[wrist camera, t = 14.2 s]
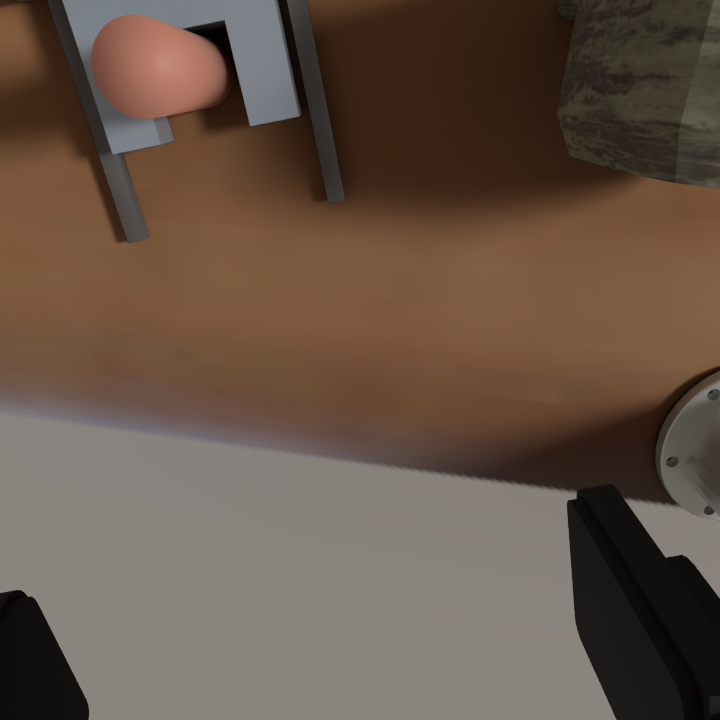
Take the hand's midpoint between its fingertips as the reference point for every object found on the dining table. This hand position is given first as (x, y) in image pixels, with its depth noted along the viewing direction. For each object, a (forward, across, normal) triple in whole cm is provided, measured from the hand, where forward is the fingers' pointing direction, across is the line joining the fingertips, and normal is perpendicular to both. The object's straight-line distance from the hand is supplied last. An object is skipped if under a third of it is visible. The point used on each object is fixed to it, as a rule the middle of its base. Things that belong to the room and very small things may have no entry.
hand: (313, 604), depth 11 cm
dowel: (+30, +5, -10) cm, 32 cm away
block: (+30, +5, -11) cm, 33 cm away
